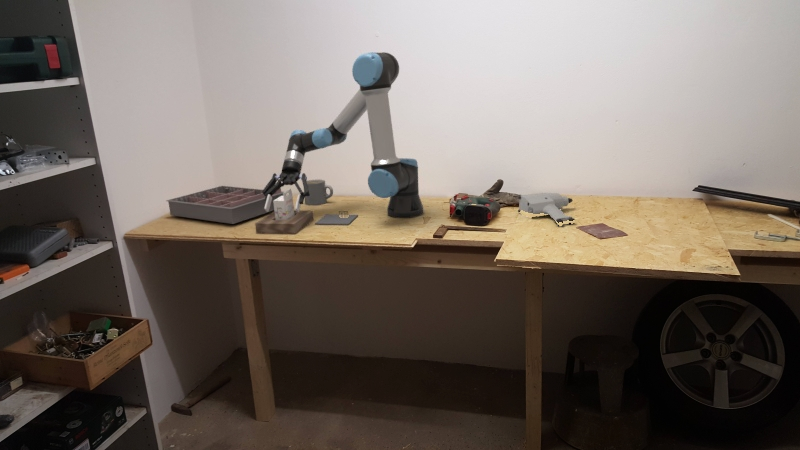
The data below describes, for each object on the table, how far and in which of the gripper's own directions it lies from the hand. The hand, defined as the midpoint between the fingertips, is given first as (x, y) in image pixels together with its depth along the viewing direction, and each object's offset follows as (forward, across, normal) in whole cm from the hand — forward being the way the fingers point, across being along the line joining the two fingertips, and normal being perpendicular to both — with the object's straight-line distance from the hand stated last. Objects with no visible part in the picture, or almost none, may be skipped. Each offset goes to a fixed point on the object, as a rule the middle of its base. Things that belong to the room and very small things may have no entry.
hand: (281, 210), depth 229 cm
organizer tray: (-10, +35, -21) cm, 42 cm away
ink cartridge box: (+3, 0, -7) cm, 8 cm away
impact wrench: (-10, -106, -21) cm, 108 cm away
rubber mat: (-4, -18, -14) cm, 23 cm away
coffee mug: (-24, 0, -35) cm, 42 cm away
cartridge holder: (+3, 0, -7) cm, 8 cm away
